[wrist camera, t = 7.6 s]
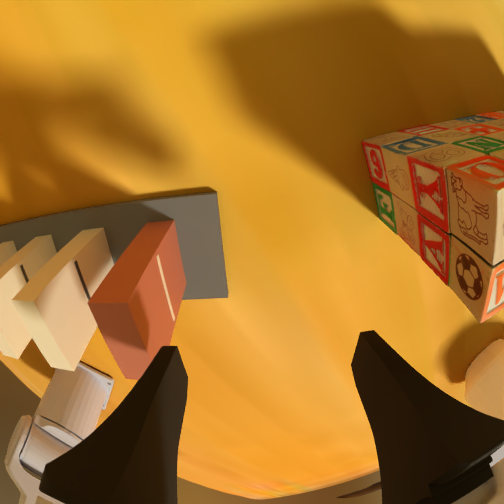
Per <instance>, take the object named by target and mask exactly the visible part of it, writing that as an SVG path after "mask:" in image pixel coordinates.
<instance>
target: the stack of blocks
mask: <svg viewBox="0 0 504 504" xmlns="http://www.w3.org/2000/svg"><path fill="white" fill-rule="evenodd" d="M362 145H363V149H364V153H365V157H366V161H367V165H368V168H369V173H370V177H371V180H372V183H373V187H374V192H375V197H376V202H377V208H378V213H379V218H380V220H381V221H382V222H383V223H384V224H386V225H387V226H388V227H389V228H390V229H391V230H392V231H393V232H394V233H395V234H397V235H399V236H400V237H401V238H402V239H403V240H404V241H405V242H406V243H407V244H408V245H409V246H410V247H411V248H412V249H413V250H414V251H415V252H416V253H417V254H418V255H419V256H421V258H422V260H423V261H424V262H425V263H426V264H427V265H428V266H429V268H431V269H432V270H433V271H434V272H435V274H436V275H437V276H439V277H440V279H441V280H442V281H443V282H444V283H445V284H446V285H447V286H449V287H450V288H451V289H452V290H453V291H454V292H455V293H456V295H457V296H458V297H459V298H460V299H461V301H462V302H463V303H464V304H465V305H466V307H467V308H468V309H469V310H470V311H471V313H472V314H473V315H474V316H475V317H476V319H477V320H478V321H479V322H480V323H482V322H484V321H485V320H487V319H488V318H490V317H491V316H493V315H494V314H496V313H497V312H499V311H500V310H501V309H503V308H504V110H503V111H496V112H489V113H482V114H476V115H475V116H470V117H464V118H459V119H455V120H450V121H445V122H440V123H436V124H431V125H423V126H418V127H414V128H409V129H405V130H401V131H397V132H392V133H387V134H383V135H380V136H376V137H372V138H368V139H365V140H362Z"/></svg>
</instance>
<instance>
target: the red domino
mask: <svg viewBox="0 0 504 504" xmlns="http://www.w3.org/2000/svg"><path fill="white" fill-rule="evenodd" d="M185 287H186V278H185V273H184V269H183V264H182V259H181V253H180V248H179V243H178V237H177V232H176V226H175V220H168V221H158V222H149V223H146V224H145V226H144V227H143V228H142V229H141V231H140V232H139V233H138V234H137V236H136V237H135V238H134V239H133V241H132V242H131V243H130V244H129V246H128V247H127V248H126V250H125V251H124V252H123V254H122V255H121V256H120V258H119V259H118V260H117V262H116V263H115V264H114V266H113V267H112V268H111V270H110V271H109V272H108V274H107V275H106V277H105V278H104V279H103V281H102V282H101V284H100V285H99V287H98V288H97V289H96V291H95V292H94V294H93V295H92V297H91V298H90V300H89V301H88V305H89V308H90V310H91V312H92V315H93V317H94V319H95V321H96V323H97V325H98V327H99V329H100V332H101V334H102V336H103V338H104V340H105V342H106V344H107V345H108V347H109V349H110V351H111V353H112V355H113V357H114V359H115V360H116V362H117V364H118V366H119V368H120V369H121V371H122V373H123V375H124V376H125V378H126V379H137V380H139V379H140V378H141V376H142V375H143V373H144V372H145V370H146V369H147V368H148V366H149V365H150V363H151V362H152V360H153V359H154V357H155V356H156V354H157V353H158V351H159V349H160V348H161V347H162V346H169V345H170V341H171V338H172V334H173V330H174V326H175V322H176V319H177V315H178V312H179V308H180V304H181V301H182V297H183V294H184V290H185Z"/></svg>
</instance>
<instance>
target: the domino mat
mask: <svg viewBox="0 0 504 504" xmlns="http://www.w3.org/2000/svg"><path fill="white" fill-rule="evenodd" d="M168 220H175V226H176V232H177V237H178V243H179V248H180V253H181V259H182V264H183V269H184V273H185V278H186V287H185V290H184V294H183V297H182V300H186V299H210V298H228V287H227V279H226V271H225V262H224V254H223V245H222V236H221V227H220V217H219V208H218V198H217V192H205V193H195V194H185V195H175V196H166V197H158V198H150V199H142V200H135V201H127V202H120V203H114V204H107V205H101V206H95V207H89V208H83V209H77V210H71V211H66V212H61V213H56V214H51V215H46V216H41V217H36V218H31V219H27V220H22V221H18V222H14V223H9V224H5V225H1V226H0V244H1V243H2V242H7V241H14V244H15V247H16V250H17V252H18V251H19V250H20V249H21V248H23V247H24V246H25V245H26V244H27V243H29V242H30V241H31V240H32V239H34V238H35V237H38V236H44V235H51V236H52V239H53V242H54V245H55V248H56V251H57V253H58V252H59V251H60V250H61V249H62V248H63V247H64V246H65V245H66V244H67V243H69V242H70V241H71V240H72V239H73V238H74V237H75V236H76V235H78V234H79V233H80V232H81V231H82V230H88V229H95V228H103V227H104V231H105V235H106V238H107V242H108V246H109V249H110V253H111V256H112V259H113V263H114V264H115V263H116V262H117V260H118V259H119V258H120V256H121V255H122V254H123V252H124V251H125V250H126V248H127V247H128V246H129V244H130V243H131V242H132V241H133V239H134V238H135V237H136V236H137V234H138V233H139V232H140V231H141V229H142V228H143V227H144V226H145V224H146V223H149V222H158V221H168Z"/></svg>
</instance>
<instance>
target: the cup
mask: <svg viewBox="0 0 504 504" xmlns="http://www.w3.org/2000/svg"><path fill="white" fill-rule="evenodd" d="M465 400H466V401H467V402H468V403H469V404H470V405H471V406H472V407H473V408H474V409H475V410H477V411H480V412H482V413H484V414H487V415H490V416H492V417H495V418H498V419H502V420H504V339H498V340H496V341H494V342H492V343H491V344H490V345H488V346H487V347H486V348H485V349H484V350H483V351H482V352H481V353H480V354H479V355H478V356H477V357H476V358H475V359H474V361H473V362H472V363H471V365H470V366H469V368H468V369H467V372H466V375H465Z"/></svg>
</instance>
